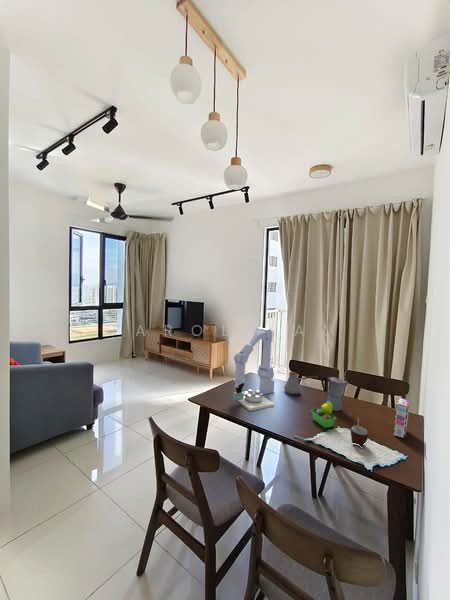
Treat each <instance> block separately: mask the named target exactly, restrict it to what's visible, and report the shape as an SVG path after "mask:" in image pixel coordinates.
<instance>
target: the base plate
mask: <svg viewBox="0 0 450 600" xmlns="http://www.w3.org/2000/svg"><path fill="white" fill-rule="evenodd" d="M232 398H233V399H234V395H233V397H232ZM236 401H237V402H238V403H239V404H241V406H243V407H244V408H246V409H247V410H248V411H249V412H251V411H256V410H260V409H266V408H267V409H268V408H272V407H274V406H275V403H274V402H272V401H271V400H269V399H267V398H266V397H265V396H263V398H262V401H261V402H259V403H252V402H248V401H246V400H245V399H244V396H243V400H236Z"/></svg>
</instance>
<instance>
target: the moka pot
mask: <svg viewBox="0 0 450 600" xmlns="http://www.w3.org/2000/svg"><path fill="white" fill-rule="evenodd" d="M324 381H327V382H328V390H326V388H325V382H324ZM320 382H321V385H322V386H321V387H322V390H323V391H322V392H324V393H326V394H327V393H328V396H327V399H326V402H327V401H329V402H331V404H332V406H333V407H332V411H333V412H334V411H336V412H340V411H342V400H343V398H342V397H343V394H344V391H345V389H346V388H347V385H349V384H350V383H349V381H347V380H344V379H343V378H340V375H336V377H327V376H324V377H323V378H322V379H320Z"/></svg>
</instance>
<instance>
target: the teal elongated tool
mask: <svg viewBox="0 0 450 600" xmlns="http://www.w3.org/2000/svg"><path fill="white" fill-rule="evenodd" d="M263 395H264V394H263V393H261V392H260V391H258V390H257V389H256V390H255V391H254V390H252V389H248V390H247V391H242V392H238V393H237V392H233V396H234V398H233V401H237V400H243V396H244V399H245V400H246V401H248V402H252V403H259V402H261V401H262V398H263V397H264V396H263Z"/></svg>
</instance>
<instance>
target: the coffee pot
mask: <svg viewBox="0 0 450 600" xmlns="http://www.w3.org/2000/svg"><path fill="white" fill-rule="evenodd" d="M288 376H289V377H288V379H287V380H286V382H285V384H284V386H283V390H284V391H285V392H286V393H287V394H289V395H292V394H296V395H299V394H300V393H301V391H302V388H301V387H302V386H301V385H300V380H306V379H312V378H313V379H314V378H316V379H317V380H318V377H317V375H311V376H310V375H309V376H306V377H300V378H298V376H299V373H297V372H288Z"/></svg>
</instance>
